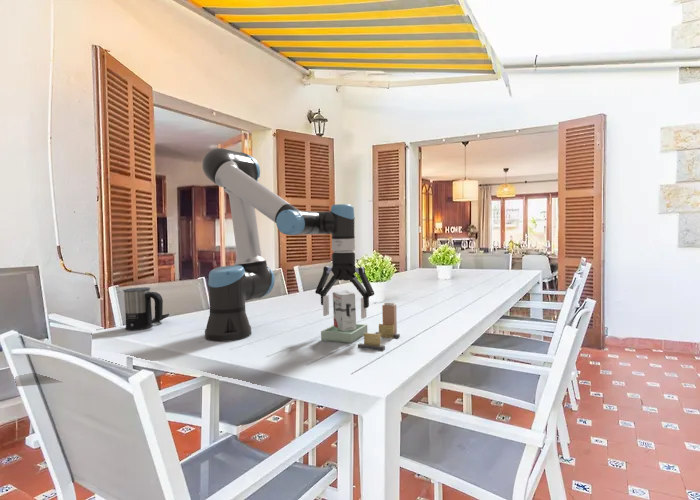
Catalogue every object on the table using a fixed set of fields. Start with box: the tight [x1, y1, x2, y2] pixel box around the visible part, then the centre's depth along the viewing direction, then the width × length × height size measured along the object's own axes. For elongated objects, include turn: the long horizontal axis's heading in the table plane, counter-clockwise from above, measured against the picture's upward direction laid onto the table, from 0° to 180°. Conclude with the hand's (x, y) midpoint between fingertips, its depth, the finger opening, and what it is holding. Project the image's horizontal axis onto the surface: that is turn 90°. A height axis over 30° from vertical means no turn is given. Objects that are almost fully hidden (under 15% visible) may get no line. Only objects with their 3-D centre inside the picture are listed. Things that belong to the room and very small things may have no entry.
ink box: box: [332, 290, 357, 331], centre depth 140 cm, size 8×5×12 cm, turn 23°
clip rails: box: [363, 323, 395, 345], centre depth 133 cm, size 5×14×4 cm, turn 156°
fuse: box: [381, 301, 398, 334], centre depth 142 cm, size 4×3×11 cm, turn 66°
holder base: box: [357, 331, 401, 351], centre depth 133 cm, size 8×16×1 cm, turn 156°
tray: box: [320, 323, 368, 344], centre depth 140 cm, size 11×14×3 cm
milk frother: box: [122, 286, 170, 331], centre depth 163 cm, size 14×16×15 cm
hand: (344, 316), depth 140 cm, fingers open, 13 cm apart
